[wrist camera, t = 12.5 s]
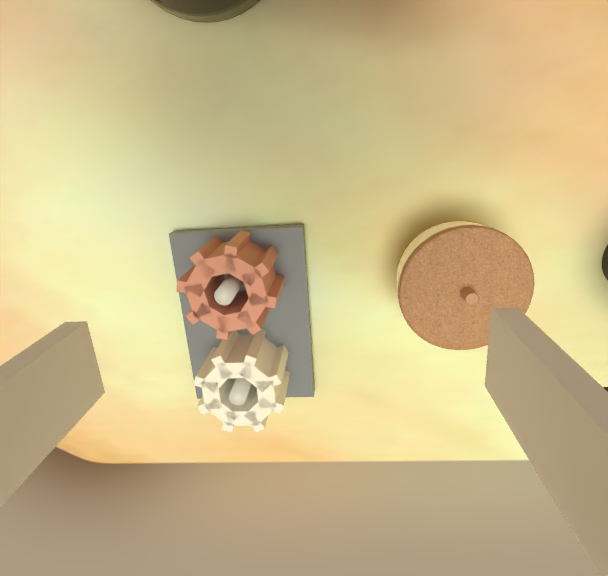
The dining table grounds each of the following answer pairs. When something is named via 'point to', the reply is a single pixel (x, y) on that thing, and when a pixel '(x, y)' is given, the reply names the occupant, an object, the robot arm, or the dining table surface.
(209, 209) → the dining table surface
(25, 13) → the dining table surface
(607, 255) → the coffee cup
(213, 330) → the gear board
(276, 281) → the gear
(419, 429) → the dining table surface
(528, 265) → the lidded jar
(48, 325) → the dining table surface
